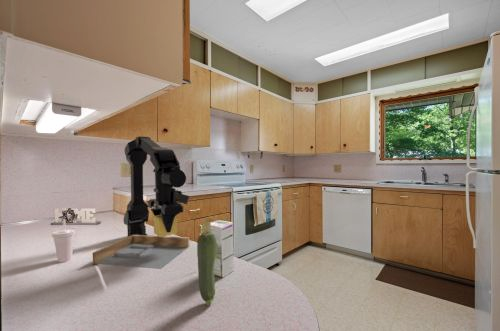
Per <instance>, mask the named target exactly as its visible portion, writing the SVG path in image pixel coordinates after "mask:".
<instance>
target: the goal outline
mask: <svg viewBox="0 0 500 331" xmlns="http://www.w3.org/2000/svg"><path fill="white" fill-rule="evenodd" d="M133 247H134V248H147V249H145V250H143V251H141V252H140V253H138V254H137V253H123V252H125V251H127V250H129V249H131V248H133ZM152 249H154V245H147V244H131V245H129V246H127V247H125V248H123V249H121V250H119V251H117V252H115V253H114V256H118V257H132V258H139V257H141V256H142V255H144V254H146V253H147V252H149V251H151V250H152Z"/></svg>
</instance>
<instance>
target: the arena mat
mask: <svg viewBox="0 0 500 331" xmlns="http://www.w3.org/2000/svg"><path fill="white" fill-rule="evenodd" d="M145 249H147V248H134V247H133V248H131V249H129V250H127V251H125V252H123V253H137V254H138V253H140V252H141V251H143V250H145ZM187 249H188V248H186V247H169V246H154V249H152V250H151V251H149V252H147V253H146V254H144V255H142V256H141V257H139V258H132V257H118V256H114V255H112V256H110V257H108V258H106V259H104V260H102V261H100V262H98V263H96V265H95V264H93V263H92V265H93V266H96V267H97V266H99V265H107V266H108V265H109V266H120V267H121V266H122V267H133V268H134V267H135V268H145V269H146V268H147V269H157V270H158V269H159V270H161V269H163V268H164V267H165V266H167V265H168V264H169V263H170V262H172V261H173V260H174V259H176V258H177V257H178V256H179V255H181V254H182V253H183V252H185V251H186V250H187Z"/></svg>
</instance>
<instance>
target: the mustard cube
mask: <svg viewBox="0 0 500 331" xmlns="http://www.w3.org/2000/svg"><path fill="white" fill-rule="evenodd" d="M177 217H178V216H177V215H176V216H175V218H174V221H173V224H172V228H171V232H167V231H166V229H165V226H164V224H163V221H162V218H161V216H160V215H157V216H154V215H153V234H154V235H155V236H159V237H162V236H170V235H171V236H172V235H177V234H178V218H177Z"/></svg>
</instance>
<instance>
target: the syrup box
mask: <svg viewBox="0 0 500 331" xmlns="http://www.w3.org/2000/svg"><path fill="white" fill-rule="evenodd" d="M210 223H211V229H210V230H211V231H209V232H212V233H213V234H214V236H215V238H216V242H217V248H216V257H215V262H214V276H216V277H220V278H225V277H227V276H228V275H230V274H231V273H233V272H234V271H235V257H234V256H235V255H234V251H235V250H234V223H233V221H227V220H226V221H225V220H219V219H218V220H214V221H213V222H211V221H210Z"/></svg>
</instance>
